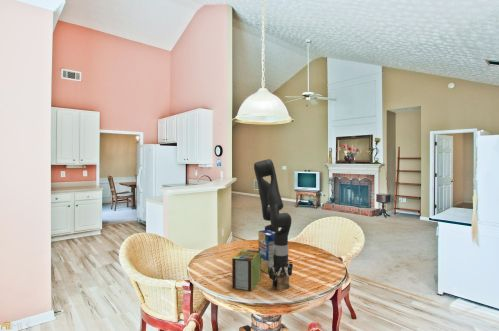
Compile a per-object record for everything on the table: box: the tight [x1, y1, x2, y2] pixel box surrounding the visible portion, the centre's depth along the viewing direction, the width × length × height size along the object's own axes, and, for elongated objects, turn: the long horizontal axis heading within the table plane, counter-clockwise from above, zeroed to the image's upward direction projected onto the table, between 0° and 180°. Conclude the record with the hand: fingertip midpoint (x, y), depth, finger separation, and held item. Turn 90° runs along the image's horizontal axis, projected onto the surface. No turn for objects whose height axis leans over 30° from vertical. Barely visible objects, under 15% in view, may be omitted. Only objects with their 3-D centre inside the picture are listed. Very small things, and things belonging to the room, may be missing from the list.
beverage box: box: [257, 229, 275, 275], centre depth 165 cm, size 7×11×22 cm, turn 29°
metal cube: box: [271, 273, 290, 292], centre depth 143 cm, size 6×6×6 cm
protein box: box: [231, 248, 261, 292], centre depth 147 cm, size 10×15×16 cm
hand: (280, 285), depth 143 cm, fingers closed on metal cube, 6 cm apart
